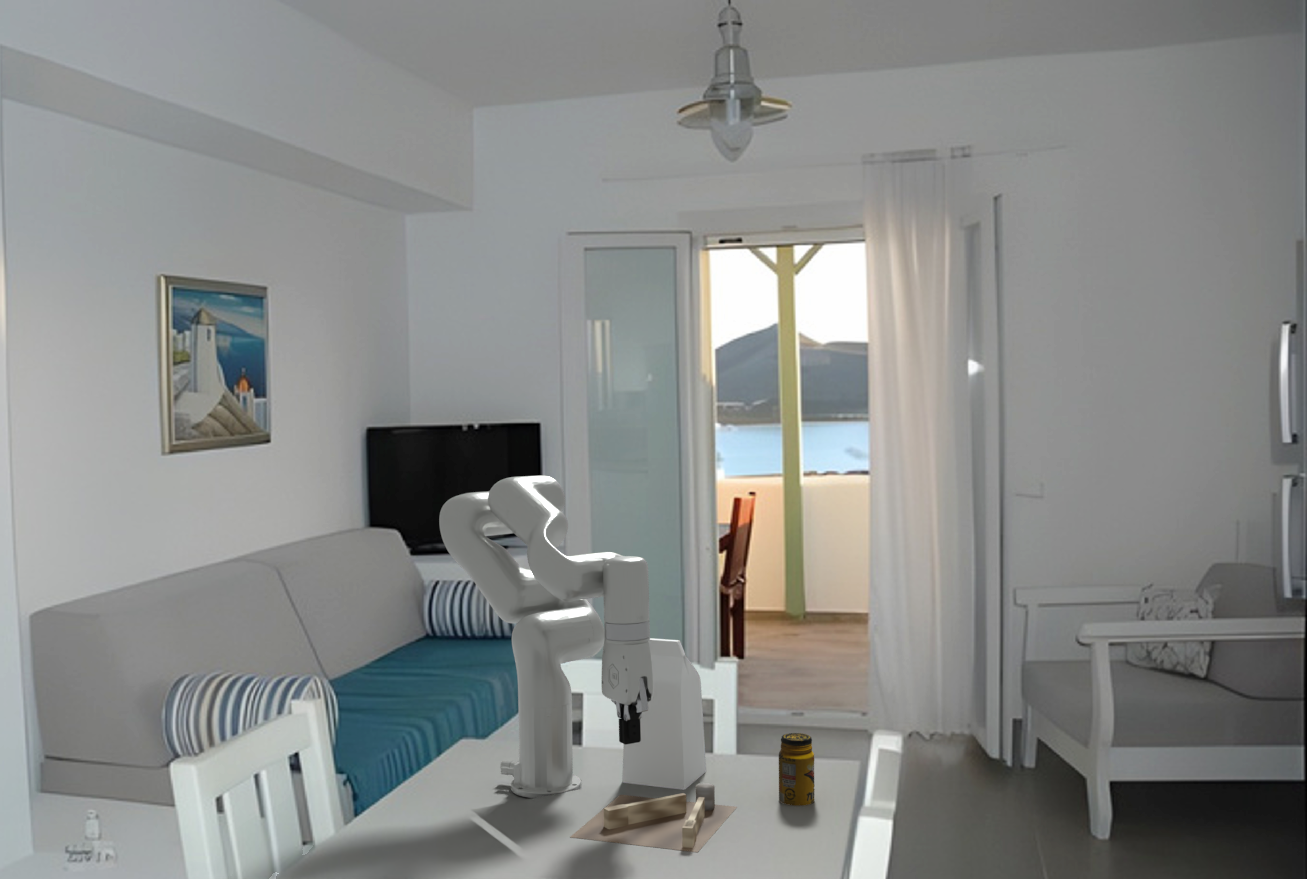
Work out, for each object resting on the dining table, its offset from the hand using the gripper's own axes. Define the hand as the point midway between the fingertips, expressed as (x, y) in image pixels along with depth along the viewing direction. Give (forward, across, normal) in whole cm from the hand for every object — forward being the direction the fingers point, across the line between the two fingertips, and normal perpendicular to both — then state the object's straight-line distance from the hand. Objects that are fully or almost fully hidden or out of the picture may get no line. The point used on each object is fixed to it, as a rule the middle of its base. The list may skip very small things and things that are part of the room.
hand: (630, 742), depth 205 cm
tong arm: (+12, +4, 0) cm, 13 cm away
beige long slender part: (+12, +11, +6) cm, 17 cm away
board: (+13, +6, +1) cm, 14 cm away
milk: (+13, -14, +15) cm, 24 cm away
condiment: (+13, +9, +26) cm, 31 cm away
